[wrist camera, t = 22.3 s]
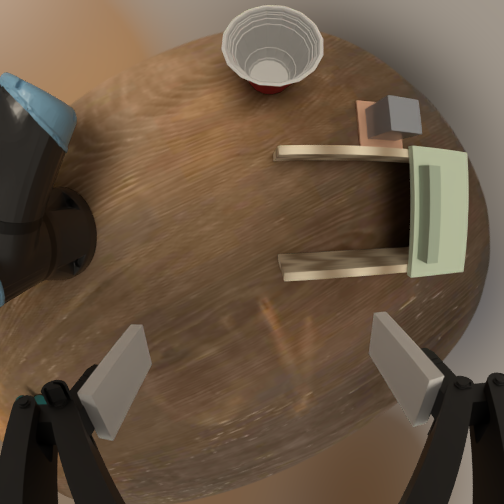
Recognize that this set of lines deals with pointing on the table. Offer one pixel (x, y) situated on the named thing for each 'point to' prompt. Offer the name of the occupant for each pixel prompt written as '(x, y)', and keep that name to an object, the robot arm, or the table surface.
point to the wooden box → (349, 260)
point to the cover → (437, 211)
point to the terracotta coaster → (363, 129)
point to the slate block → (393, 118)
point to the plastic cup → (272, 47)
